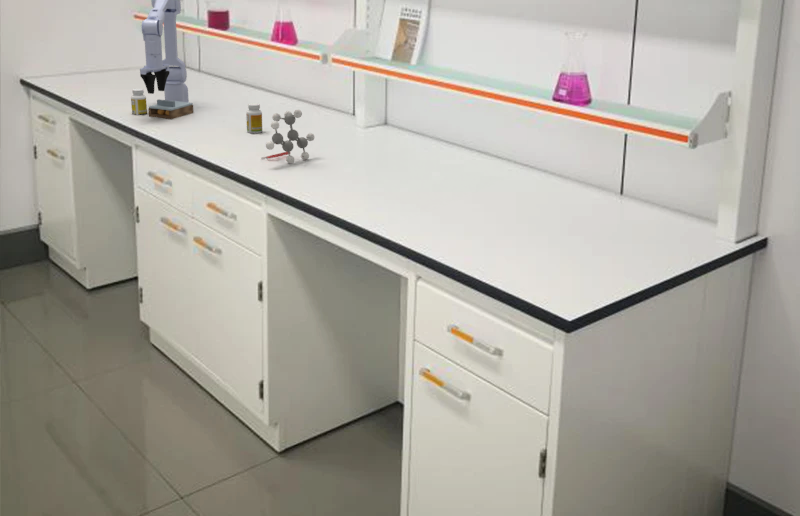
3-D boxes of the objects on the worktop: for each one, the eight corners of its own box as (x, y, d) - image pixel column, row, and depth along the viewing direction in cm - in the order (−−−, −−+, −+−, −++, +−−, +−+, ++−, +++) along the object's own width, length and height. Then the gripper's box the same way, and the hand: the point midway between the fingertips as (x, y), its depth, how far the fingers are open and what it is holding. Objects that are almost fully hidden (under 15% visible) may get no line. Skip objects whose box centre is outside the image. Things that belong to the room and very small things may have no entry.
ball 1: (160, 114, 334) (159, 107, 333) (166, 115, 333) (166, 108, 332) (155, 116, 331) (155, 108, 331) (162, 116, 331) (161, 109, 330)
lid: (170, 102, 342) (170, 95, 341) (192, 104, 338) (192, 97, 337) (148, 108, 329) (148, 100, 329) (171, 110, 326) (170, 103, 325)
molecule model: (293, 159, 290) (284, 111, 287) (328, 155, 280) (318, 105, 277) (248, 171, 275) (237, 120, 272) (283, 167, 265) (272, 114, 262)
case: (171, 112, 343) (170, 102, 342) (193, 114, 340) (193, 104, 338) (149, 118, 331) (148, 108, 329) (171, 121, 327) (171, 110, 326)
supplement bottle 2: (265, 131, 316) (264, 104, 313) (256, 134, 312) (255, 106, 308) (253, 129, 318) (252, 102, 315) (243, 132, 314) (242, 104, 311)
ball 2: (168, 115, 333) (168, 108, 332) (174, 116, 332) (174, 108, 331) (164, 117, 330) (163, 109, 329) (170, 117, 329) (170, 110, 328)
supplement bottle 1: (149, 114, 337) (147, 88, 334) (144, 117, 332) (142, 91, 329) (135, 114, 338) (133, 88, 334) (130, 116, 333) (128, 90, 329)
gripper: (156, 50, 327) (158, 88, 332) (131, 55, 314) (134, 94, 319) (172, 52, 325) (175, 89, 330) (148, 56, 312) (151, 95, 317)
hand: (156, 92), depth 324 cm, fingers open, 6 cm apart
